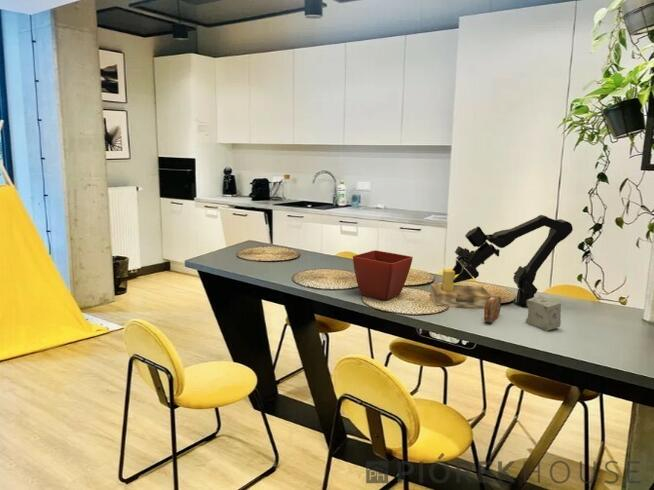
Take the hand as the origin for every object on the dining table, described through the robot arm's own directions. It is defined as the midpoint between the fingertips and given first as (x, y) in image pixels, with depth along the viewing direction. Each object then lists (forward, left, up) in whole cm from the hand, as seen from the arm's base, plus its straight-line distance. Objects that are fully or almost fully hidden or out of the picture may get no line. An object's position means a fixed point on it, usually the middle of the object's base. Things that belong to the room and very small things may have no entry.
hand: (451, 279), depth 216 cm
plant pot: (+14, +25, -10) cm, 30 cm away
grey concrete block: (-35, -17, -10) cm, 40 cm away
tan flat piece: (-2, -4, -9) cm, 10 cm away
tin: (-24, -3, -10) cm, 26 cm away
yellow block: (0, +1, -8) cm, 8 cm away
